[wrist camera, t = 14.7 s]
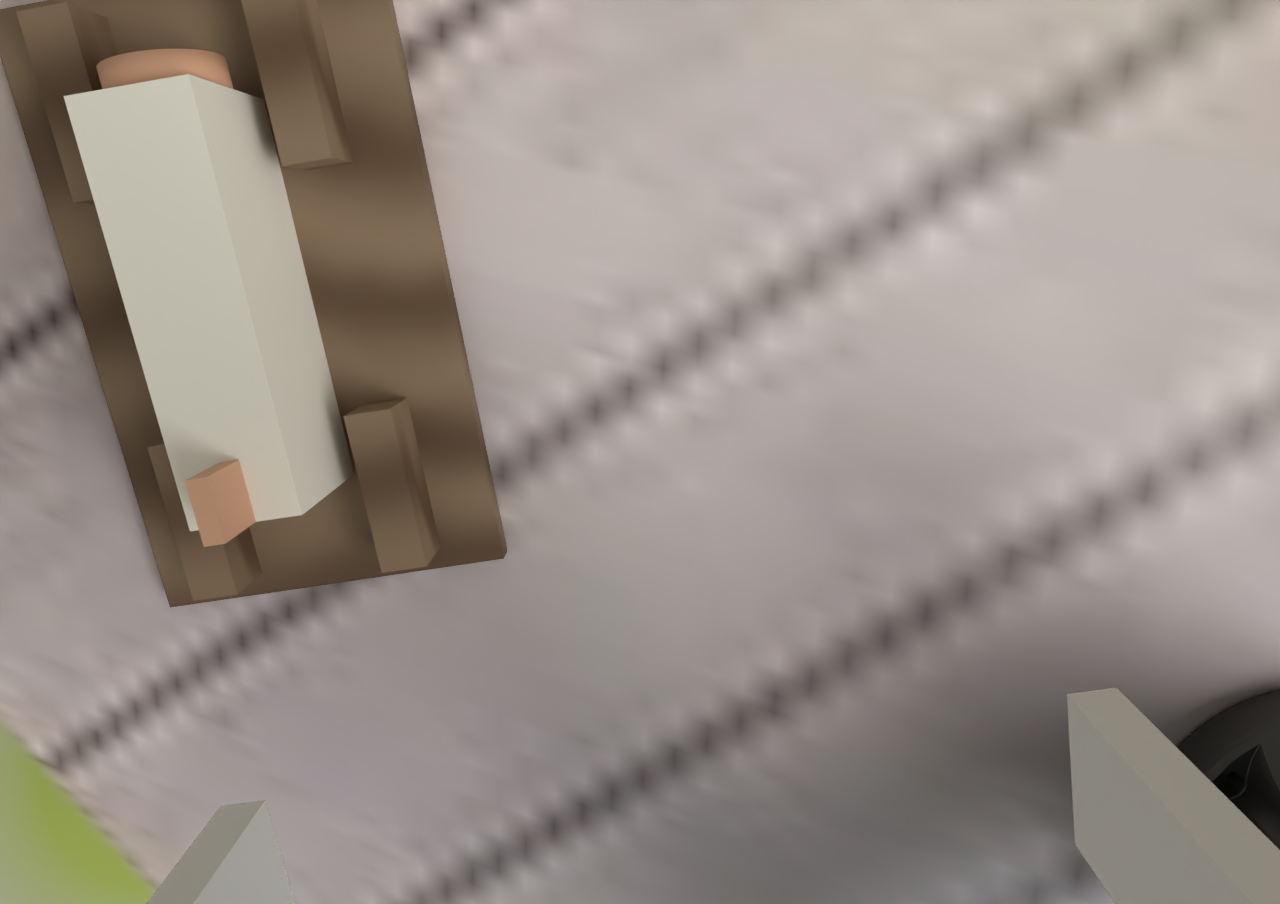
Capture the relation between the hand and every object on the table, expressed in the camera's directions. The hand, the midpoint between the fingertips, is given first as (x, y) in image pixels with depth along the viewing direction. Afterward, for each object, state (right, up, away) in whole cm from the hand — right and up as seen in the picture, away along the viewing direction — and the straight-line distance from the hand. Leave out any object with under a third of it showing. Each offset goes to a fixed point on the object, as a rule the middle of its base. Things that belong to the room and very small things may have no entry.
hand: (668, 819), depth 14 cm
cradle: (-17, +13, +25) cm, 32 cm away
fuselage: (-17, +12, +24) cm, 32 cm away
